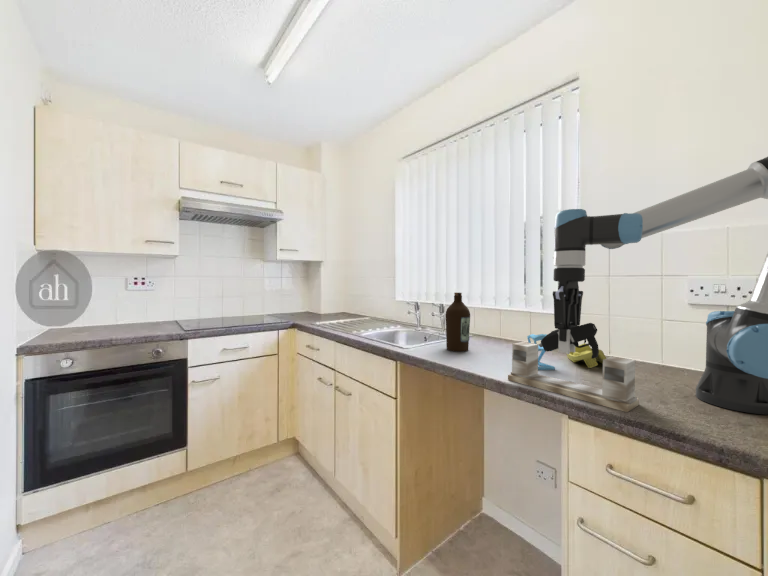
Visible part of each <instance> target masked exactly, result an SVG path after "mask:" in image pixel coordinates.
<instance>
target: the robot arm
mask: <svg viewBox="0 0 768 576" xmlns="http://www.w3.org/2000/svg"><path fill="white" fill-rule="evenodd" d="M758 199H764V200H765V199H766V200H768V156H766V157H764V158H761V159H759V160H756V161H754V162H751V163H750V164H749V166H748V167H747V168H746V169H744V170H741V171H739V172H738V173H734V174H732V175H729V176H726V177H724V178H721V179H719V180H715V181H714V182H711V183H708V184H706V185H704V186H701V187H698V188H696V189H692V190H690V191H688V192H685V193H683V194H680V195H677V196H674V197H671V198H669V199H666V200H665V201H662V202H659V203H657V204H654V205H650V206H647V207H645V208H643V209H641V210H638V211H635V212H633V213H632V212H631V213H627V212H624V213H620V214H619V213H618V214H617V213H616V214H606V215H595V216H590V215H588V214H587V211H586V210H585V209H583V208H572V209H571V208H569V209H563V210H560V211H558V212H557V213H556V215H555V222H554V237H553V238H554V243H553V244H554V249H553V251H554V253H553V254H554V255H553V256H552V259H553V265H554V266H555V268H554V269H553V281H554V282H558V285H557V291H556V290H555V291H554V290H553V291H552V298H553V319H554V321H553V322H554V329H555V330H557V329H559V342H558V349H557V352H558V353H562V354H570V352H575V345H574V344H570V330H568V329H569V326H572V325H574V326H580V325H581V317H582V316H581V314H582V302H583V296H584V291H582V290H580V286H579V282H580V283H582V282H584V281H585V280H586V278H585V277H586V275H585V274H586V269H585V266H586V253H587V252H586V246H587V245H588V246H589V245H590V246H593V245H595V246H597V245H600V246H601V247H603V248H605V249H608V250H614V249H619V248H621V247H623V246H624V245H629V244H635V243H636V244H637V243H639V242H640V241H642V239H644V238H647V237H649V236H653V235H655V234H659V233H662V232H665V231H667V230H670V229H671V230H672V229H673V228H676V227H679V226H682V225H685V224H688V223H691V222H695V221H697V220H699V219H703V218H705V217H708V216H711V215H714V214H717V213H720V212H723V211H725V210H728V209H732V208H734V207H738V206H740V205H743V204H745V203H749V202H751V201H754V200H755V201H756V200H758ZM705 325H706V344H705V345H706V347H705V368H704V371H703V373H702V375H701V377H700V379H699V381H698V383H697V385H696V387H695V397H696V398H698V400H700V401H702V402H705V403H708V404H710V405H713V406H717V407H720V408H723V409H728V410H732V411H737V412H741V413H742V412H743V413H749V414H756V415H766V416H767V415H768V252H767V254H766V256H765V258H764V262H763V264H762V267H761V269H760V272H759V274H758V276H757V279H756V282H755V284H754V287H753V290H752V292H751V295H750V297H749V300H748V301H746V302H743V303H741V304H738V305H736V306H735V309H734V310H716V311H711V312H709V313H708V314H707V319H706V322H705Z"/></svg>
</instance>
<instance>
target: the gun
mask: <svg viewBox="0 0 768 576" xmlns="http://www.w3.org/2000/svg"><path fill="white" fill-rule="evenodd" d="M568 330H570V344H574V345H575V347H578V348H582V347H585V346H588V345H589V346H590V348H591V350H592V358H591V359H593V358H596V357H598V354H599V349H600V348H599V344H598V341H597V339H596V337H595V336H596V335H597V333H598V329H597V326H596V325H595V323H592V322H588V323H584V324H580V325H577V326H574V325H572V326H569V329H568ZM582 341H583V344H584V343H585V345H582V344H581V345H582V346H579V345H580V344H579V342H582ZM558 342H559V329H555V330H551V331H550V333H548V334H547V335H546V336H545V337H544V338H543V339H542V340H540V343H538V345H539V346H540V347H543V348H544V350H545V351H546V352H553V351H555V350H558ZM586 342H587V343H586Z"/></svg>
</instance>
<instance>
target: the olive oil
mask: <svg viewBox="0 0 768 576" xmlns="http://www.w3.org/2000/svg"><path fill="white" fill-rule="evenodd" d="M453 294H454V296H453V302H451V304H450V305H449V306H448V307H447V309H446V311H445V335H446V337H445V338H446V345H445V346H446V349H447V351H451V352H460V353H461V352H467V351H469V345H470V343H469V342H470V328H471V326H470V324H471V313H470V309H469V308H468V307H467V305H466V304H464V303H465V302H463V296H462V294H463V292H454V293H453Z"/></svg>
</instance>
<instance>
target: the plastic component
mask: <svg viewBox="0 0 768 576" xmlns="http://www.w3.org/2000/svg"><path fill="white" fill-rule="evenodd" d="M585 344H586V343H584V342H583V343H582V344H579V346H582V345H585ZM591 349H592V347H590V345H588V346H585V347H582V348H578V347H575V352H570V354H566V357H567V358H568V359H569V360H570V361H571V362H573V363H577V362H579V361H584V363H585V365H586V367H587V368H589V369H590V368H594V367H597V366H599V363H601V364H602V365H603V359H606V358H607V357H606V355H605V353H604V352H603V350H602V349H601V348H599V354H598V357H596V358H593V359H591V358H592V350H591ZM598 362H599V363H598Z"/></svg>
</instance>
